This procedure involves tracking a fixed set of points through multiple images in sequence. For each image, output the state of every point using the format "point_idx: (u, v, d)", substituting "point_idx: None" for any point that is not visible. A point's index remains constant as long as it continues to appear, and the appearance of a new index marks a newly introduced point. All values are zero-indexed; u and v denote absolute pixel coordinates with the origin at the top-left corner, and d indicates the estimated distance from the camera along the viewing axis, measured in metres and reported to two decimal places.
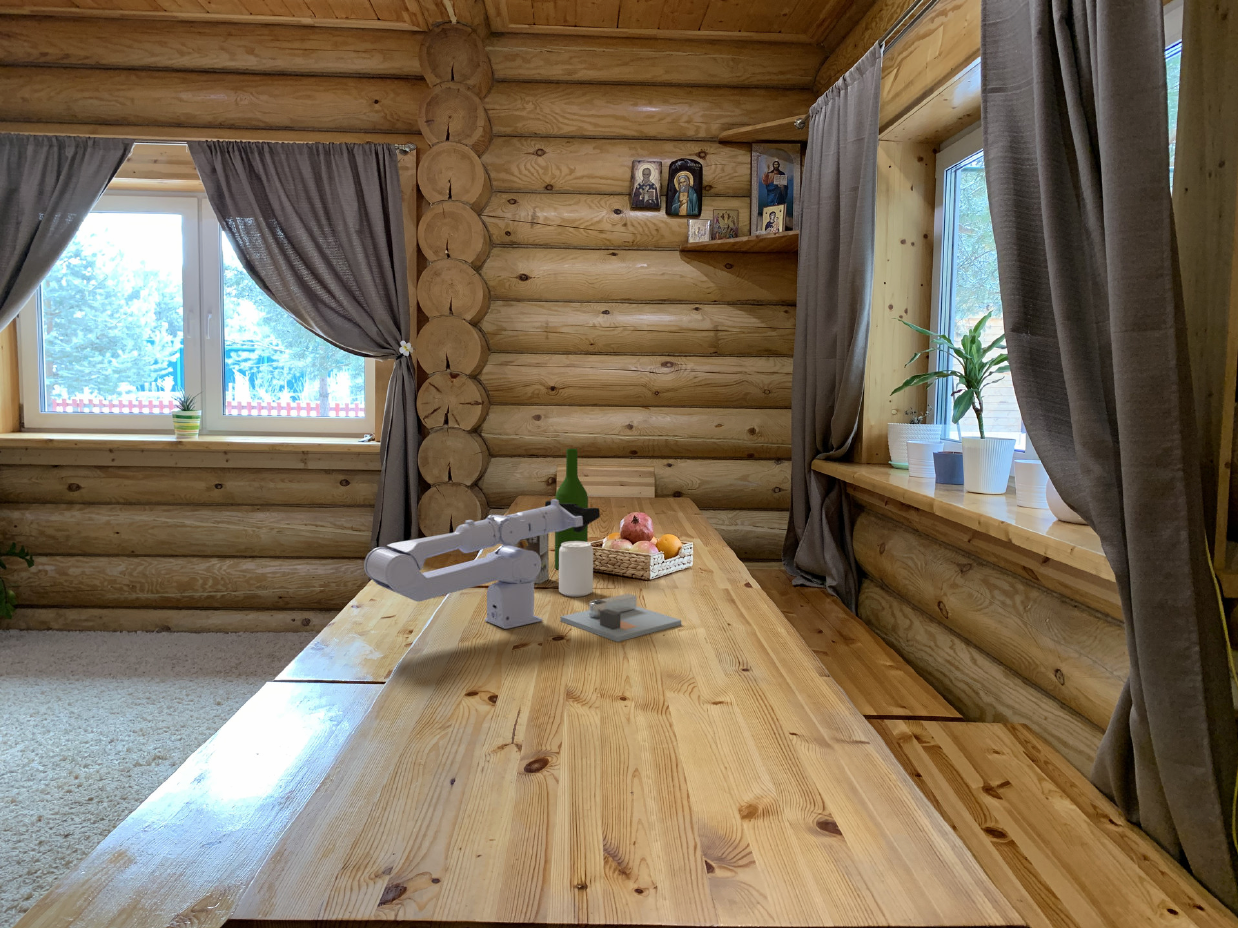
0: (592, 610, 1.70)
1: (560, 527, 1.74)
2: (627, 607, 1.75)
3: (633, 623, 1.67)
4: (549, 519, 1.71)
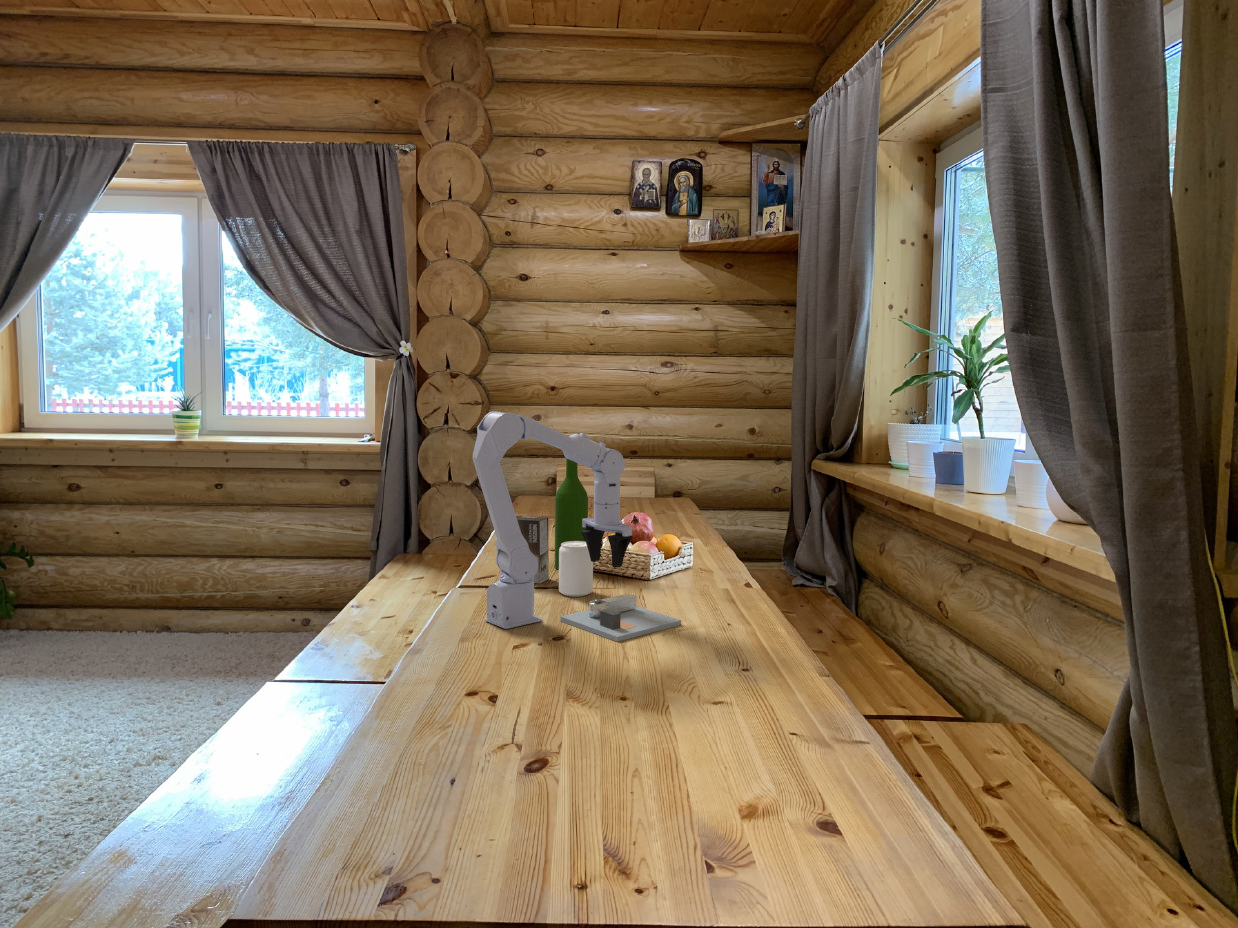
0: (592, 610, 1.70)
1: (607, 523, 1.76)
2: (627, 607, 1.75)
3: (633, 623, 1.67)
4: (617, 508, 1.77)
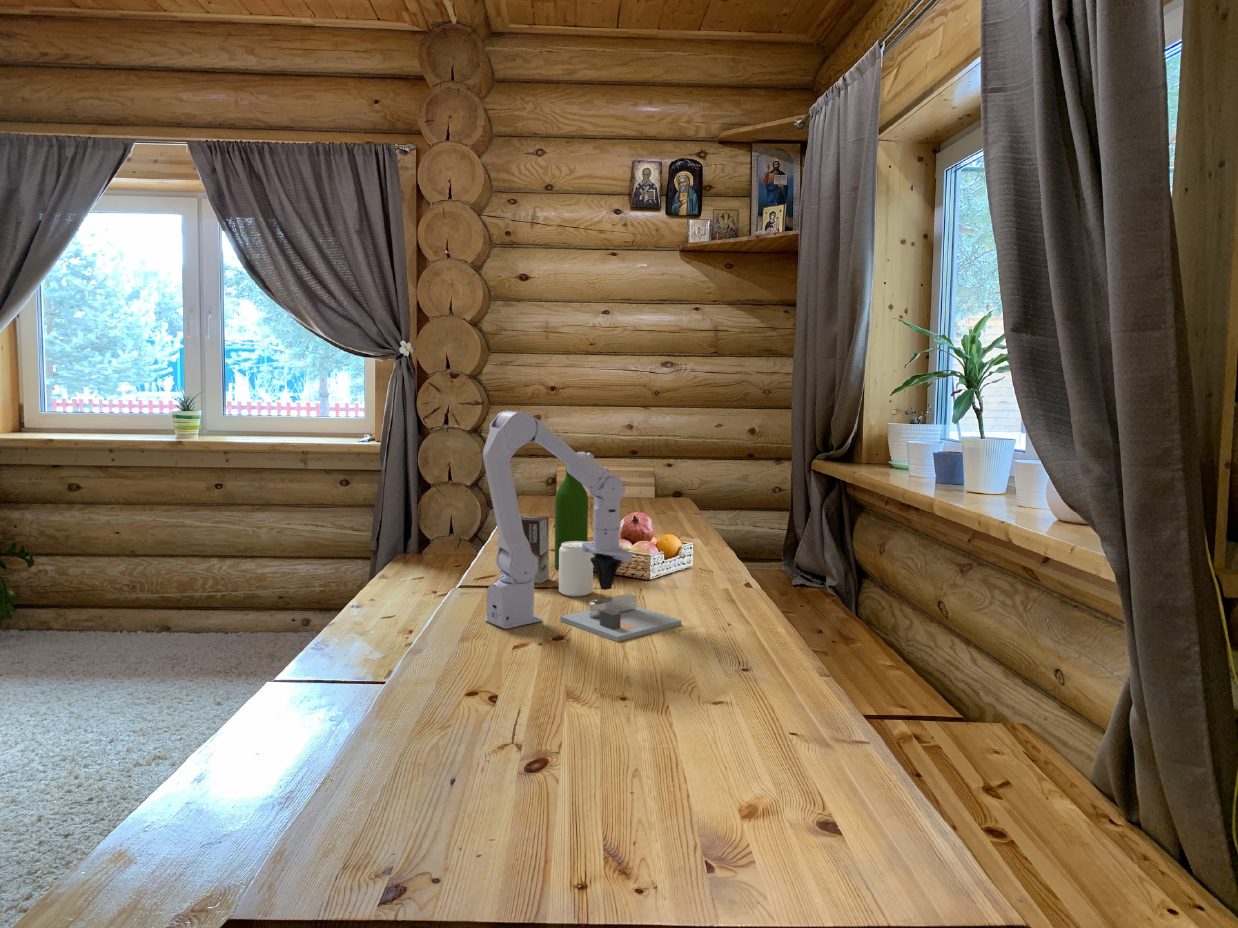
0: (592, 610, 1.70)
1: (607, 548, 1.76)
2: (627, 607, 1.75)
3: (633, 623, 1.67)
4: (617, 533, 1.77)
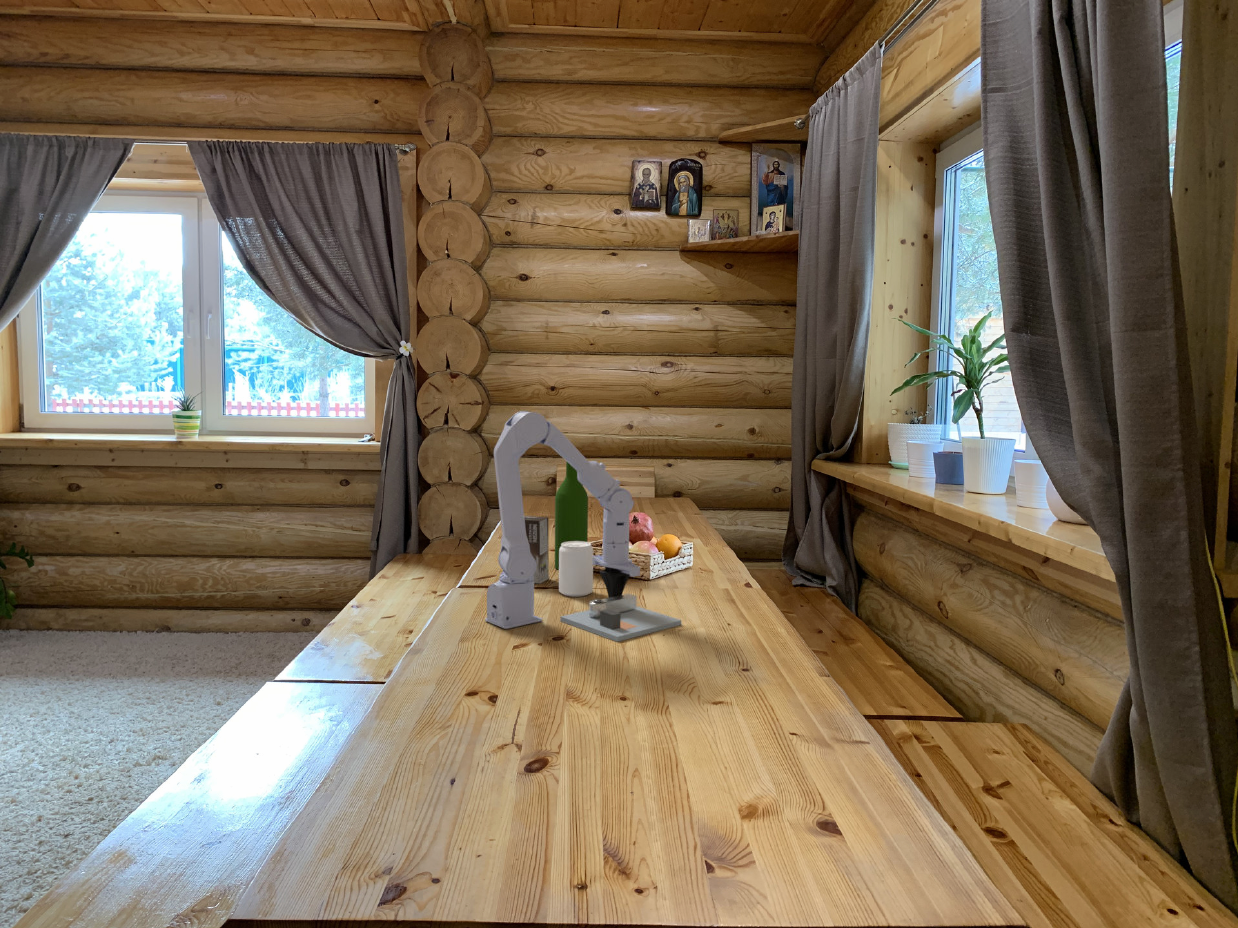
0: (592, 610, 1.70)
1: (615, 562, 1.74)
2: (627, 607, 1.75)
3: (633, 623, 1.67)
4: (626, 547, 1.75)
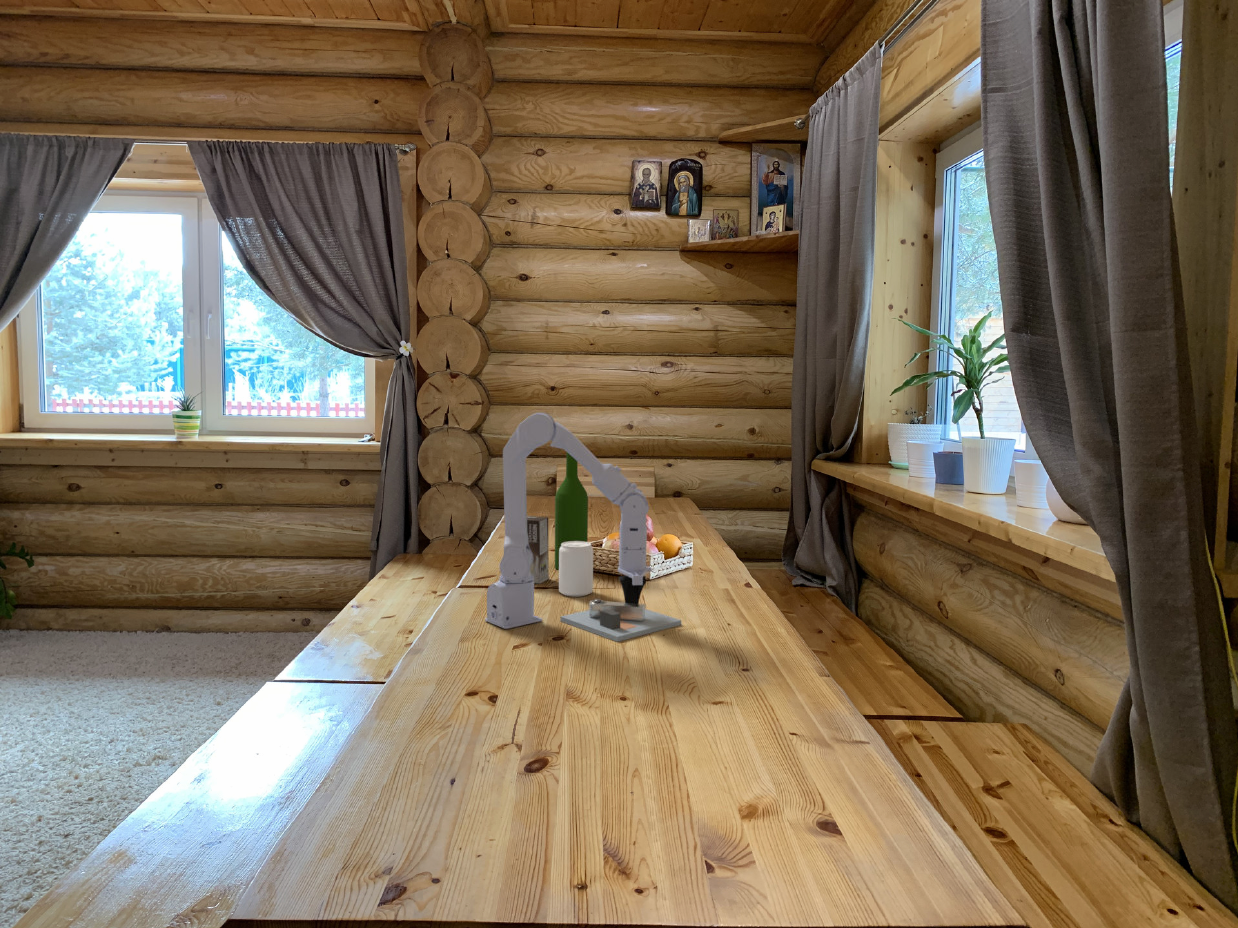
0: (589, 608, 1.71)
1: (626, 568, 1.68)
2: (630, 616, 1.68)
3: (633, 623, 1.67)
4: (638, 554, 1.68)
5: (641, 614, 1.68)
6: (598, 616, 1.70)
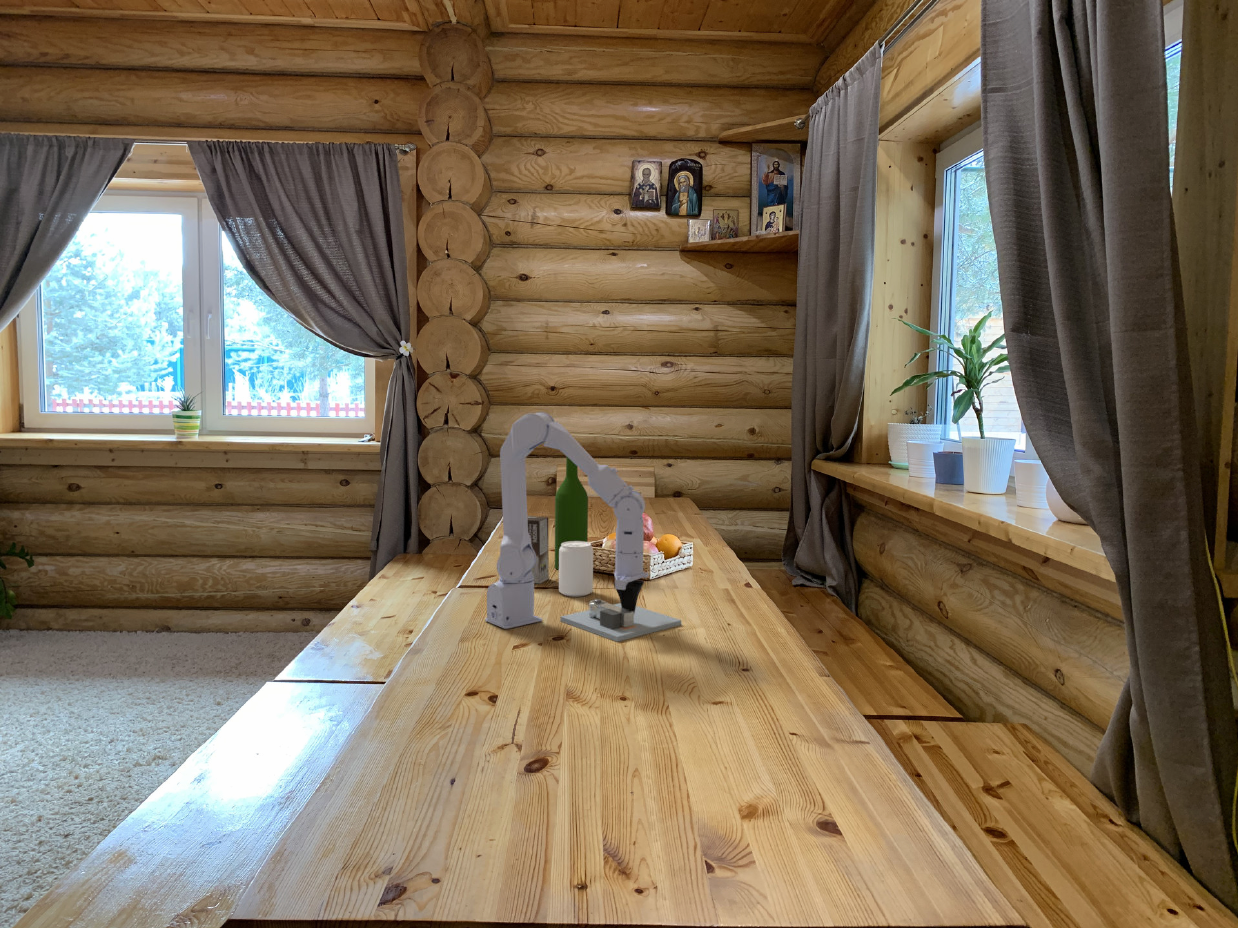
0: None
1: (618, 572, 1.65)
2: None
3: None
4: (629, 558, 1.64)
5: (623, 620, 1.63)
6: (593, 616, 1.70)
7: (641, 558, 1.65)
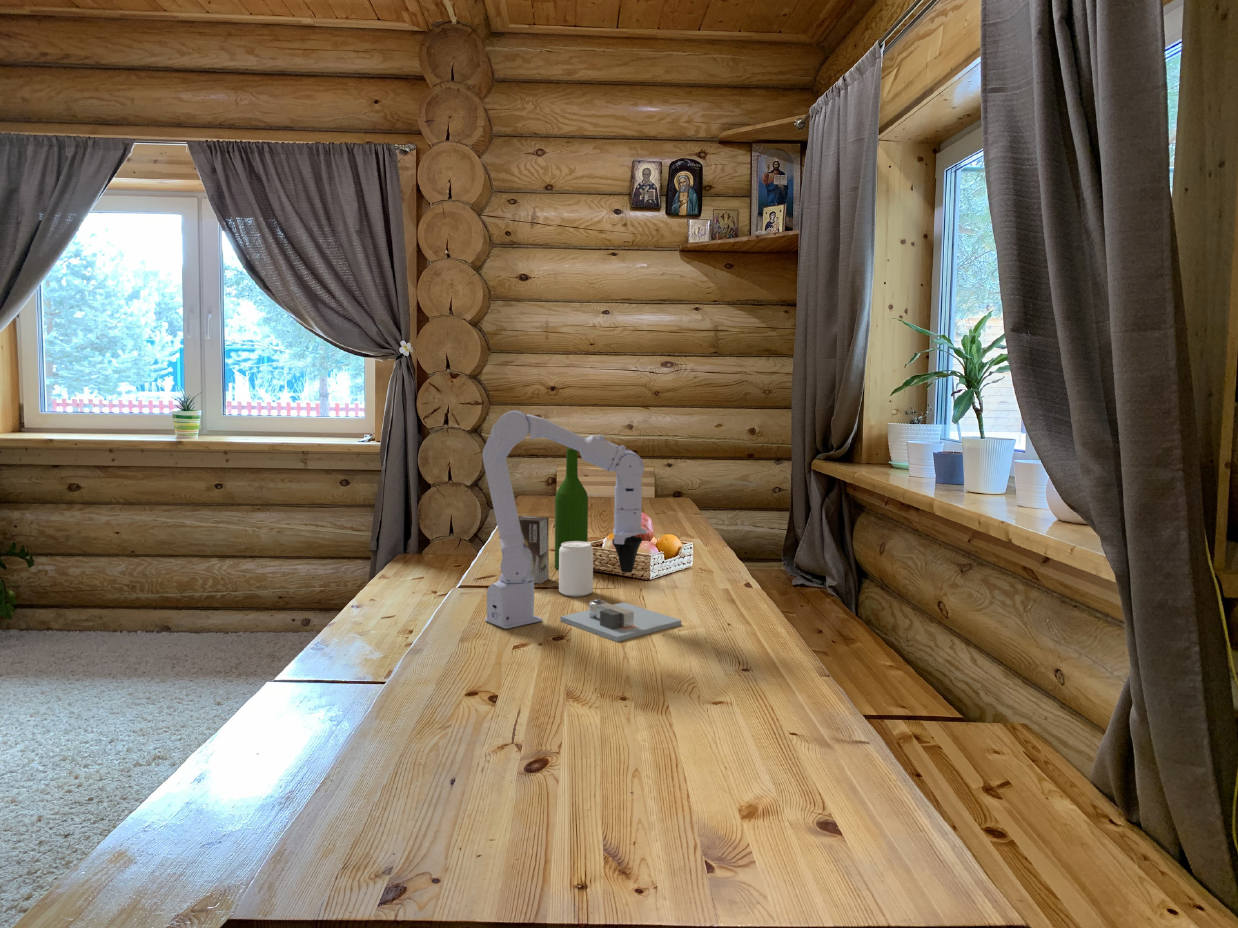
0: None
1: (617, 528, 1.69)
2: None
3: None
4: (627, 514, 1.68)
5: (623, 620, 1.63)
6: (593, 616, 1.70)
7: (639, 515, 1.70)
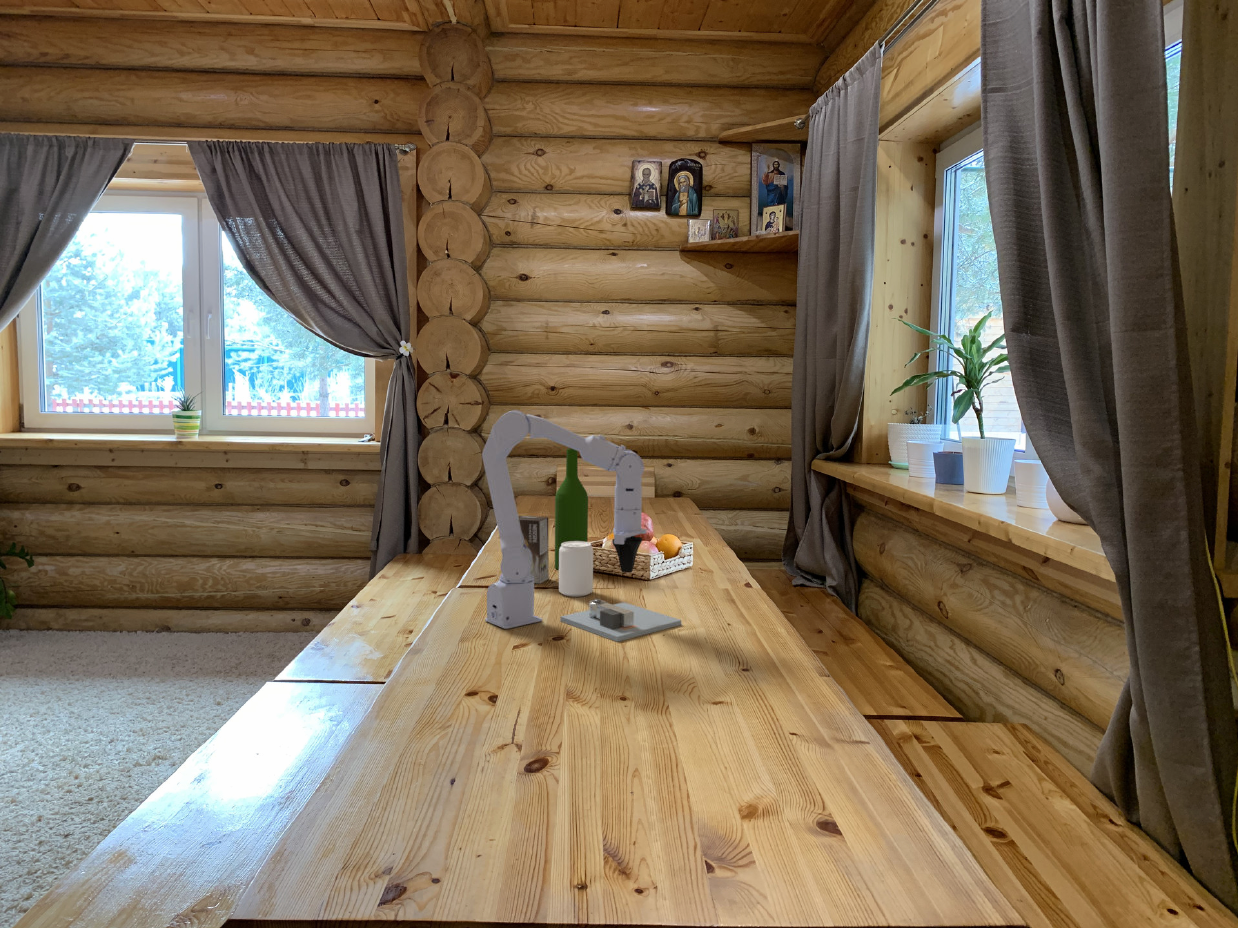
0: None
1: (617, 528, 1.69)
2: None
3: None
4: (627, 514, 1.68)
5: (623, 620, 1.63)
6: (593, 616, 1.70)
7: (639, 515, 1.70)
